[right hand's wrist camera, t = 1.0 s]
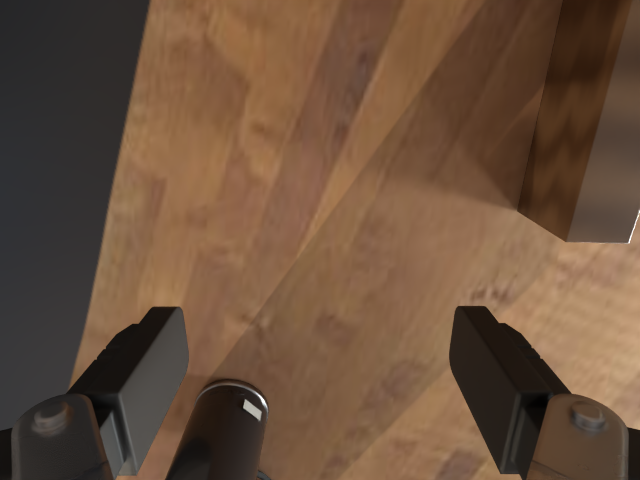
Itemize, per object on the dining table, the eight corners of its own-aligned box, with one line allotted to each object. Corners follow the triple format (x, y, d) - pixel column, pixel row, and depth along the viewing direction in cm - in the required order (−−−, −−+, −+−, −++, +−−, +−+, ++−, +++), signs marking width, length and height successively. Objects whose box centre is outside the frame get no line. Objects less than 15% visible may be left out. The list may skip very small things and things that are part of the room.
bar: (567, 212, 40) (629, 243, 32) (516, 211, 40) (565, 242, 32) (651, -100, 31) (768, -167, 23) (585, -102, 31) (678, -169, 23)
